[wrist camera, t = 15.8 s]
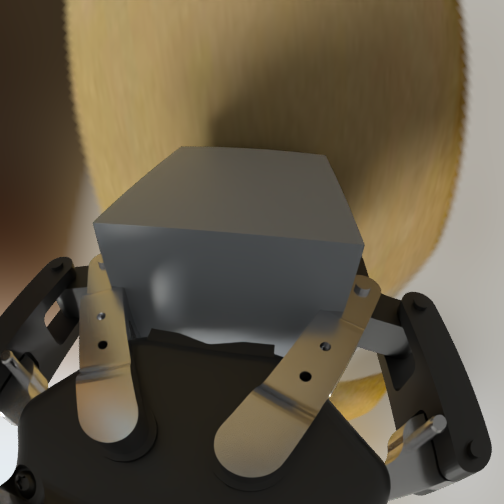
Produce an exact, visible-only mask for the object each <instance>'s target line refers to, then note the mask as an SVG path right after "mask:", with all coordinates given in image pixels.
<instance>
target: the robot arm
mask: <svg viewBox="0 0 504 504" xmlns="http://www.w3.org/2000/svg"><path fill="white" fill-rule="evenodd" d="M55 301H57V303H58V305H59V307H60V311H59V312H58V313H57V315H56V316H55V317H54V319H53V320H52V321H51V322H50V324H49V325H48V326H47V327H46V325H45V322H44V317H45V314H46V312H47V311H48V310H49V308H50V307H51V306H52V305H53V303H54V302H55ZM78 336H79V365H80V369H79V370H78V371H76V372H74V373H73V374H71V375H70V376H68V377H66V378H65V379H63V380H61V381H60V382H58V383H57V384H55V385H53V386H52V387H50V388H48V383H49V382H50V380H51V378H52V377H53V375H54V373H55V372H56V370H57V369H58V367H59V365H60V364H61V362H62V360H63V359H64V357H65V356H66V354H67V353H68V351H69V350H70V348H71V347H72V345H73V344H74V342H75V341H76V339H77V337H78ZM357 347H360V348H363V349H367V350H370V351H373V352H376V353H377V355H378V359H379V363H380V366H381V370H382V374H383V377H384V381H385V385H386V389H387V393H388V397H389V400H390V405H391V409H392V413H393V418H394V422H395V427H396V432H394V433H393V434H392V436H391V437H390V439H389V442H388V446H387V448H388V454H387V459H386V461H385V463H384V462H383V461H382V460H381V458H380V457H379V456H378V455H377V454H376V453H375V451H374V450H373V449H372V448H371V447H370V446H369V445H368V444H367V443H366V441H365V440H364V439H363V438H362V437H361V436H360V435H359V434H358V433H357V431H356V430H355V429H354V428H353V427H352V426H351V425H350V423H349V422H348V421H347V420H346V419H345V418H344V417H343V415H342V414H341V413H340V412H339V411H338V410H337V409H336V407H335V406H334V405H333V404H332V403H331V402H330V400H329V398H330V396H331V394H332V393H333V391H334V389H335V387H336V385H337V384H338V382H339V380H340V378H341V377H342V375H343V373H344V371H345V369H346V367H347V366H348V364H349V362H350V360H351V358H352V356H353V354H354V352H355V350H356V348H357ZM274 349H275V345H273V344H262V343H252V342H233V343H220V344H207V343H204V342H201V341H199V340H196V339H194V338H191V337H188V336H186V335H183V334H181V333H177V332H171V331H165V330H159V329H153V328H151V331H150V333H149V335H148V337H142V338H141V335H140V333H139V332H138V330H137V327H136V325H135V322H134V319H133V316H132V313H131V310H130V306H129V302H128V298H127V295H126V291H125V288H123V287H116V286H111V285H110V282H109V279H108V275H107V272H106V269H105V266H104V262H103V259H102V256H101V254H98V255H97V256H95V257H94V258H93V259H92V260H91V261H90V263H89V266H82V267H74V265H73V262H72V260H71V259H70V258H68V257H59V258H56V259H54V260H52V261H51V262H49V263H48V264H47V265H46V266H45V267H44V268H43V269H42V270H41V271H40V272H39V273H38V274H37V275H36V277H35V278H34V279H33V280H32V281H31V282H30V283H29V284H28V285H27V286H26V287H25V288H24V290H23V291H22V292H21V293H20V294H19V295H18V296H17V297H16V299H15V300H14V301H13V302H12V303H11V305H10V306H9V307H8V308H7V309H6V310H5V312H4V313H3V314H2V315H1V316H0V416H2V417H3V418H4V419H6V420H7V421H8V422H9V423H11V424H12V425H15V426H18V460H17V466H16V469H15V471H14V473H13V475H12V476H11V477H10V478H9V480H7V481H6V482H5V483H4V484H2V485H1V486H0V504H387V502H388V501H390V500H394V499H398V498H401V497H404V496H408V495H411V494H415V495H426V494H428V493H431V492H434V491H436V490H439V489H441V488H444V487H446V486H449V485H451V484H453V483H455V482H457V481H460V480H462V479H464V478H466V477H468V476H470V475H472V474H474V473H476V472H478V471H480V470H482V469H483V468H484V467H485V466H486V465H487V463H488V462H489V460H490V457H491V452H492V447H491V441H490V438H489V434H488V431H487V428H486V425H485V421H484V418H483V415H482V412H481V409H480V407H479V404H478V401H477V399H476V395H475V393H474V390H473V387H472V385H471V382H470V380H469V377H468V375H467V372H466V370H465V368H464V365H463V363H462V361H461V358H460V356H459V354H458V352H457V349H456V347H455V345H454V343H453V341H452V339H451V336H450V334H449V332H448V330H447V328H446V326H445V324H444V322H443V320H442V318H441V316H440V314H439V312H438V310H437V309H436V307H435V305H434V304H433V302H432V301H431V300H430V299H429V298H428V297H427V296H425V295H423V294H421V293H417V292H409V293H406V294H405V295H404V296H403V298H402V300H398V299H395V298H392V297H389V296H386V295H384V294H382V293H381V288H380V286H379V285H378V284H377V283H376V282H375V281H374V280H373V279H371V278H369V276H368V273H367V270H366V267H365V264H364V261H363V258H362V256H361V260H360V263H359V266H358V270H357V273H356V276H355V279H354V282H353V286H352V289H351V292H350V295H349V298H348V301H347V304H346V307H345V310H344V312H341V311H326V310H322V309H320V310H319V311H318V312H317V314H316V315H315V316H314V318H313V319H312V321H311V322H310V323H309V325H308V326H307V327H306V329H305V330H304V331H303V333H302V334H301V335H300V337H299V338H298V339H297V341H296V342H295V343H294V345H293V346H292V347H291V349H290V350H289V351H288V353H287V354H286V355H285V356H284V357H282V356H279V355H276V354H274Z"/></svg>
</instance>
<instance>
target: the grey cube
mask: <svg viewBox="0 0 504 504" xmlns="http://www.w3.org/2000/svg"><path fill="white" fill-rule="evenodd" d="M93 226H94V230H95V234H96V238H97V241H98V244H99V249H100V252H101V256H102V259H103V262H104V266H105V269H106V272H107V275H108V279H109V282H110V285H111V286H116V287H123V288H125V291H126V295H127V298H128V302H129V306H130V310H131V313H132V316H133V319H134V322H135V325H136V327H137V330H138V332H139V333H140V335H141V338H142V337H148V335H149V333H150V331H151V328H153V329H159V330H165V331H171V332H177V333H181V334H183V335H186V336H188V337H191V338H194V339H196V340H199V341H201V342H204V343H207V344H220V343H233V342H252V343H262V344H273V345H275V349H274V354H276V355H279V356H282V357H284V356H285V355H286V354H287V353H288V351H289V350H290V349H291V347H292V346H293V345H294V343H295V342H296V341H297V339H298V338H299V337H300V335H301V334H302V333H303V331H304V330H305V329H306V327H307V326H308V325H309V323H310V322H311V321H312V319H313V318H314V316H315V315H316V314H317V312H318V311H319V310H320V309H322V310H326V311H341V312H344V310H345V307H346V304H347V301H348V298H349V295H350V292H351V289H352V286H353V282H354V279H355V276H356V273H357V270H358V266H359V263H360V260H361V256H362V253H363V249H364V246H365V245H364V242H363V239H362V237H361V234H360V232H359V229H358V227H357V224H356V222H355V220H354V217H353V215H352V212H351V210H350V208H349V205H348V203H347V201H346V198H345V196H344V194H343V192H342V189H341V187H340V185H339V183H338V180H337V178H336V176H335V174H334V172H333V170H332V168H331V166H330V163H329V161H328V159H327V157H326V155H319V154H310V153H301V152H291V151H279V150H267V149H251V148H232V147H180V148H179V149H177V150H176V151H175V152H174V153H172V154H171V155H170V156H168V157H167V158H166V159H165V160H163V161H162V162H161V163H160V164H158V165H157V166H156V167H155V168H153V169H152V170H151V171H150V172H149V173H147V174H146V175H145V176H144V177H143V178H141V179H140V180H139V181H138V182H137V183H135V184H134V185H133V186H132V187H131V188H130V189H129V190H127V191H126V192H125V193H124V194H123V195H122V196H121V197H120V198H118V199H117V200H116V201H115V202H114V203H113V204H112V205H111V206H110V207H109V208H108V209H107V210H105V211H104V212H103V213H102V214H101V215H100V216H99V217H98V218H97V219H96V220H95V221H94V222H93Z"/></svg>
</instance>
